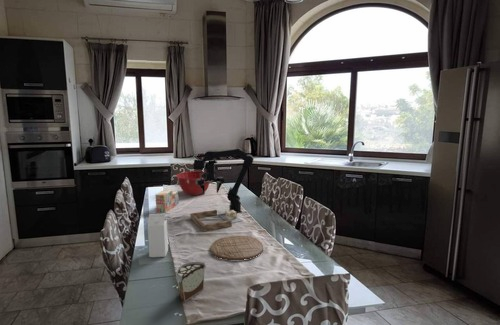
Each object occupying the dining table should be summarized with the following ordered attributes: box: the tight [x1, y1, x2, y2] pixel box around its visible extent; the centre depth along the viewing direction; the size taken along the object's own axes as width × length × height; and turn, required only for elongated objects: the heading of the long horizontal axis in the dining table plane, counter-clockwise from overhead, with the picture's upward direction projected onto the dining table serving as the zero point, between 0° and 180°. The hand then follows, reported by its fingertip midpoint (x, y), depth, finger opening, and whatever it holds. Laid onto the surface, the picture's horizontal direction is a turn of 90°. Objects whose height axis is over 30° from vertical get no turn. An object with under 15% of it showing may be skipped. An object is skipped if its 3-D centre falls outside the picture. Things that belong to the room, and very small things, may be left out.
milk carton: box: [147, 213, 169, 258], centre depth 141 cm, size 7×7×19 cm
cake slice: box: [175, 261, 206, 303], centre depth 111 cm, size 12×6×10 cm, turn 145°
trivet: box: [210, 235, 264, 261], centre depth 148 cm, size 25×25×2 cm
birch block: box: [225, 209, 238, 220], centre depth 190 cm, size 5×5×4 cm
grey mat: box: [219, 214, 244, 224], centre depth 191 cm, size 9×15×1 cm, turn 27°
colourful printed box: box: [155, 189, 180, 214], centre depth 212 cm, size 21×6×12 cm, turn 169°
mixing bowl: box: [175, 170, 211, 196], centre depth 250 cm, size 28×28×16 cm
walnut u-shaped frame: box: [189, 209, 233, 232], centre depth 184 cm, size 17×24×3 cm
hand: (210, 193), depth 203 cm, fingers open, 9 cm apart
